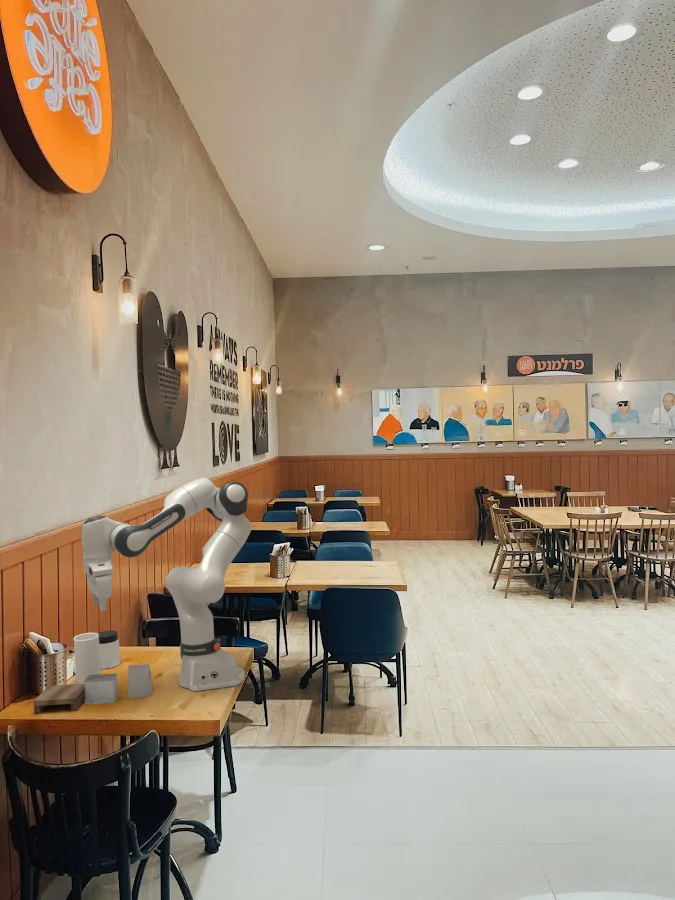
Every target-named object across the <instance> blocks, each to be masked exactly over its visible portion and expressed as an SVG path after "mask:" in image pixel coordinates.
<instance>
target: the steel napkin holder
mask: <svg viewBox="0 0 675 900" xmlns="http://www.w3.org/2000/svg"><path fill="white" fill-rule="evenodd" d="M84 682H85V698H86V700H85V705H86V704H93V705H95V704H94V703H108V704H115V703H116V701H117V700H118V699H119V686H118V684H119V683H118V682H119V681H118V673H117V672H116V673H101V674H98V675H89V676H88V677H87V678H86V679H85V680H84ZM117 698H118V699H117ZM116 699H117V700H116ZM114 702H115V703H114Z"/></svg>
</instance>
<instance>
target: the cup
mask: <svg viewBox="0 0 675 900" xmlns="http://www.w3.org/2000/svg"><path fill="white" fill-rule="evenodd" d="M98 633H99V632H85V633H80V634H77V635H75V636H74V637H73V652H74V665H75V667H74V670H75V681H76V683H75V684H84V683H85V682H84V680H85V679H86V678H87V677H88V676H89V675H98V674H102V669H101V666H100V650H99V635H98Z"/></svg>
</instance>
